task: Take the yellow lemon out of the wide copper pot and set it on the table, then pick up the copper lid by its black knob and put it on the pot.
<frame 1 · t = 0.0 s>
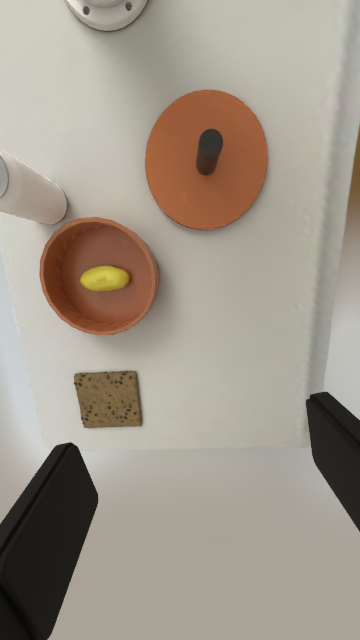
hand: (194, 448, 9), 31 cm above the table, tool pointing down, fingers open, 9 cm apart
lemon: (108, 277, 38), resting on pot
pot: (108, 277, 38), on the table
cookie: (109, 399, 44), on the table
can: (48, 203, 36), on the table
lid: (205, 165, 33), point 1 cm above the table
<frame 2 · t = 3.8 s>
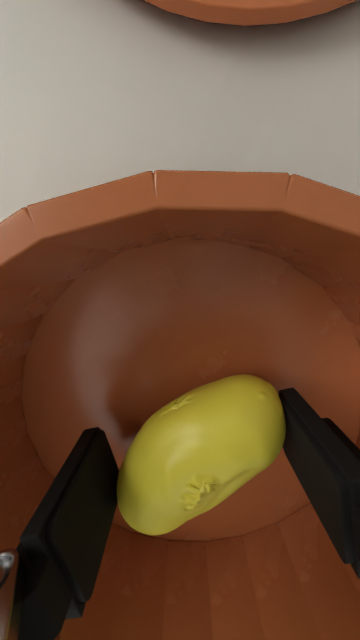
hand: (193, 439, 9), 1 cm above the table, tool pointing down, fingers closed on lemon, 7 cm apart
lemon: (191, 415, 11), resting on pot, touching gripper
pot: (191, 415, 11), on the table
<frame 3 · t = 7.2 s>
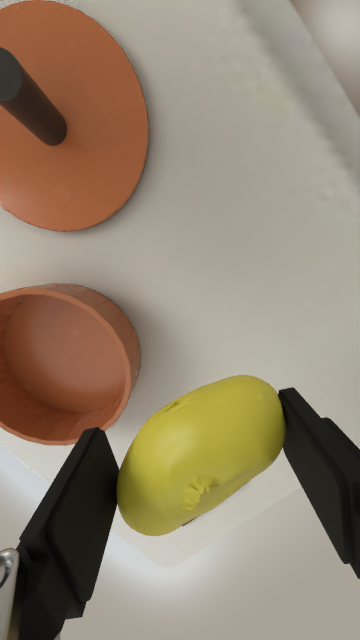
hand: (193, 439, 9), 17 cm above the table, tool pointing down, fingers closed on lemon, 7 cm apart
lemon: (191, 416, 11), point 16 cm above the table, touching gripper
pot: (71, 354, 27), on the table
lid: (54, 130, 21), point 1 cm above the table
when the fingers open (1 cm above the table, at t = 10.9 s): lemon stays where it is, on the table.
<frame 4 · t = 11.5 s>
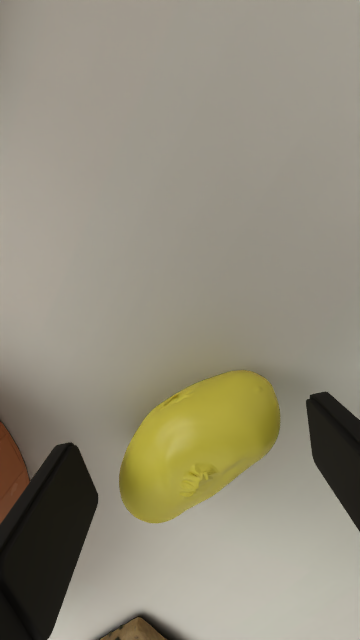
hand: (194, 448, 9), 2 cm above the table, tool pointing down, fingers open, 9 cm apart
lemon: (190, 411, 11), on the table
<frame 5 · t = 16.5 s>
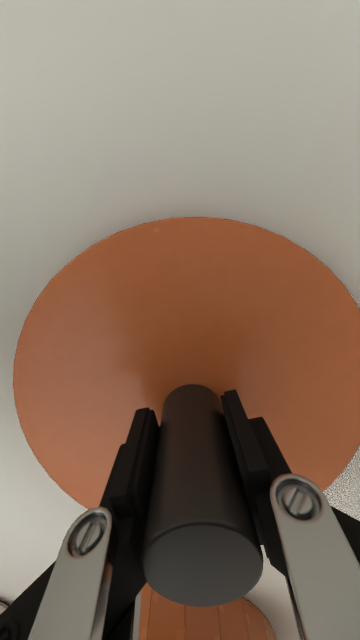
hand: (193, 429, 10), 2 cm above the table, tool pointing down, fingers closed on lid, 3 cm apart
lid: (191, 404, 12), point 1 cm above the table, touching gripper
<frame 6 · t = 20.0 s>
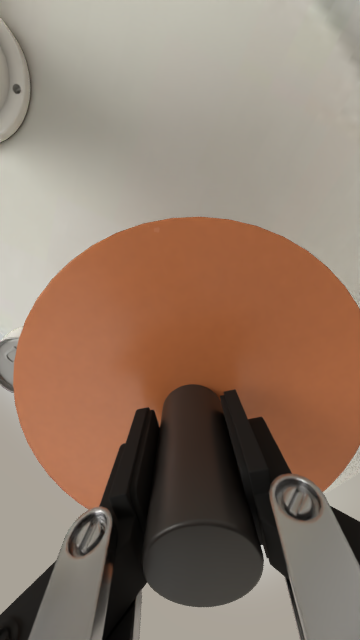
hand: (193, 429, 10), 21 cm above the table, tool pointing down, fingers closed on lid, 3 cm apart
can: (81, 328, 31), on the table
lid: (192, 404, 12), point 20 cm above the table, touching gripper
when the fingers open (7 cm above the table, at t = 23.9 s): lid stays where it is, resting on pot.
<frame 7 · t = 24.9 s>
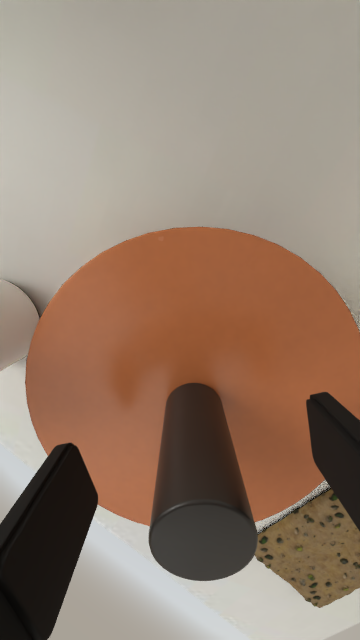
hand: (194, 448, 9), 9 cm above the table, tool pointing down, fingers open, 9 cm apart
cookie: (330, 543, 22), on the table
can: (3, 319, 17), on the table
lid: (193, 401, 12), point 5 cm above the table, touching pot
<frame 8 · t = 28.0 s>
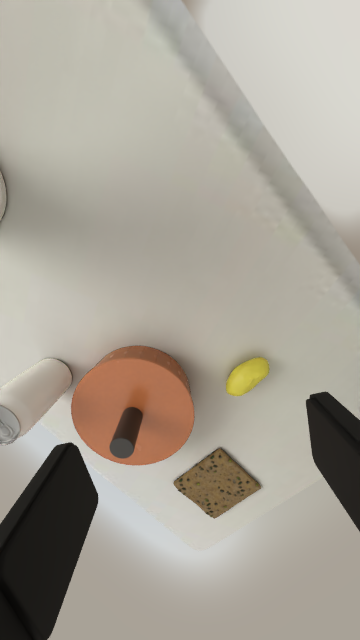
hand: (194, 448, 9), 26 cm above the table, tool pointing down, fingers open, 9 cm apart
lemon: (243, 370, 37), on the table
pot: (139, 393, 38), on the table
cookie: (216, 483, 42), on the table
can: (54, 374, 38), on the table
lid: (133, 413, 33), point 5 cm above the table, touching pot
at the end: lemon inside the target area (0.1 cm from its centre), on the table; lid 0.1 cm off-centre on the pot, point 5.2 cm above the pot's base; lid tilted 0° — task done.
